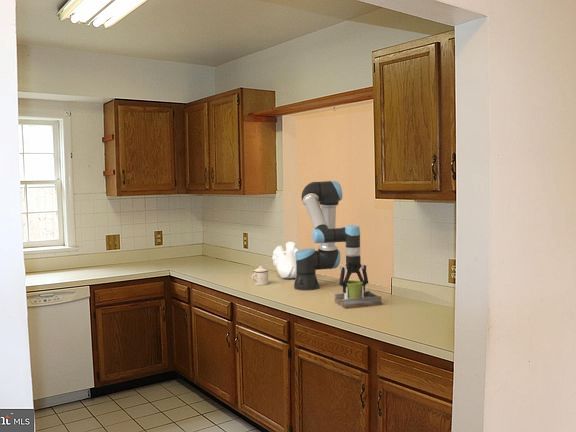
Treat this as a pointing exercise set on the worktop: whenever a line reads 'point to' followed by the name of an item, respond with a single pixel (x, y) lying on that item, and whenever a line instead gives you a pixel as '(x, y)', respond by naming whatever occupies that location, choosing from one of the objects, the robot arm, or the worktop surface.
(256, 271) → the teacup with lid
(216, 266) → the worktop surface
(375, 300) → the dock
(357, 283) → the plant pot
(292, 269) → the decorative rooster
